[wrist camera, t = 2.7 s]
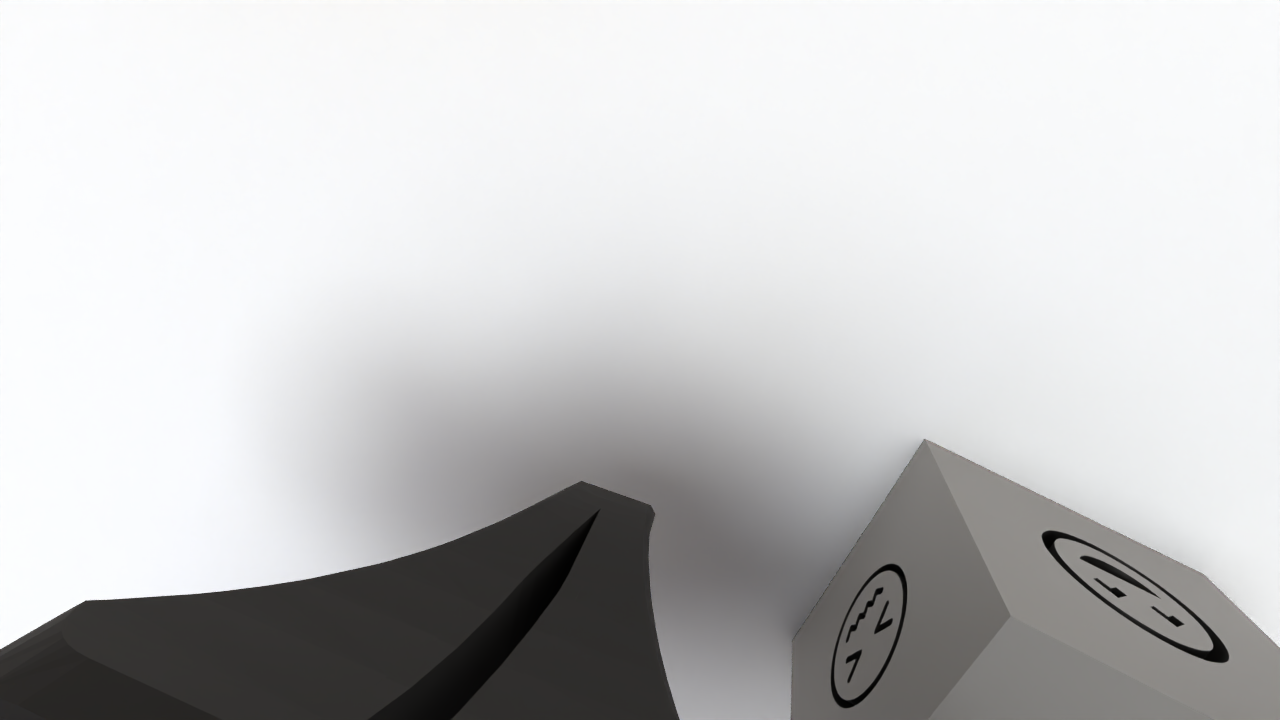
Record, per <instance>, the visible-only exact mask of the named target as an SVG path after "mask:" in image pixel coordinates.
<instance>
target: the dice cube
mask: <svg viewBox="0 0 1280 720" xmlns="http://www.w3.org/2000/svg"><path fill="white" fill-rule="evenodd" d="M791 720H1280V648H1279V647H1278V646H1277V645H1276V644H1275V643H1274V642H1273V641H1272V640H1271V639H1270V638H1269V637H1268V636H1267V635H1266V634H1265V633H1264V632H1263V631H1262V630H1261V629H1260V628H1259V627H1258V626H1256V625H1255V624H1254V623H1253V622H1252V621H1251V620H1250V619H1249V618H1248V617H1247V616H1246V615H1245V614H1244V613H1243V612H1242V611H1241V610H1240V609H1239V608H1238V607H1237V606H1236V605H1235V604H1234V603H1233V602H1232V601H1231V600H1230V599H1229V598H1228V597H1227V596H1225V595H1224V594H1223V593H1222V592H1221V591H1220V590H1219V589H1218V588H1217V587H1216V586H1215V585H1214V584H1213V583H1212V582H1211V581H1210V580H1209V579H1208V578H1207V577H1206V576H1205V575H1204V574H1202V573H1200V572H1198V571H1196V570H1194V569H1192V568H1190V567H1187V566H1185V565H1183V564H1181V563H1179V562H1177V561H1175V560H1173V559H1171V558H1169V557H1167V556H1165V555H1163V554H1161V553H1159V552H1157V551H1155V550H1153V549H1150V548H1148V547H1146V546H1144V545H1142V544H1140V543H1138V542H1136V541H1134V540H1132V539H1130V538H1128V537H1126V536H1124V535H1122V534H1120V533H1118V532H1115V531H1113V530H1111V529H1109V528H1107V527H1105V526H1103V525H1101V524H1099V523H1097V522H1095V521H1093V520H1091V519H1089V518H1087V517H1085V516H1083V515H1081V514H1078V513H1076V512H1074V511H1072V510H1070V509H1068V508H1066V507H1064V506H1062V505H1060V504H1058V503H1056V502H1054V501H1052V500H1050V499H1048V498H1046V497H1044V496H1041V495H1039V494H1037V493H1035V492H1033V491H1031V490H1029V489H1027V488H1025V487H1023V486H1021V485H1019V484H1017V483H1015V482H1013V481H1011V480H1009V479H1007V478H1004V477H1002V476H1000V475H998V474H996V473H994V472H992V471H990V470H988V469H986V468H984V467H982V466H980V465H978V464H976V463H974V462H972V461H970V460H967V459H965V458H963V457H961V456H959V455H957V454H955V453H953V452H951V451H949V450H947V449H945V448H943V447H941V446H939V445H937V444H935V443H933V442H930V441H928V440H926V439H924V441H923V442H922V444H921V445H920V447H919V448H918V450H917V451H916V453H915V454H914V456H913V458H912V459H911V461H910V462H909V464H908V465H907V467H906V468H905V470H904V471H903V473H902V474H901V476H900V477H899V479H898V480H897V482H896V483H895V485H894V487H893V488H892V490H891V491H890V493H889V494H888V496H887V497H886V499H885V500H884V502H883V503H882V505H881V506H880V508H879V509H878V511H877V512H876V514H875V515H874V517H873V519H872V520H871V522H870V523H869V525H868V526H867V528H866V529H865V531H864V532H863V534H862V535H861V537H860V538H859V540H858V541H857V543H856V544H855V546H854V548H853V549H852V551H851V552H850V554H849V555H848V557H847V558H846V560H845V561H844V563H843V564H842V566H841V567H840V569H839V570H838V572H837V573H836V575H835V577H834V578H833V580H832V581H831V583H830V584H829V586H828V587H827V589H826V590H825V592H824V593H823V595H822V596H821V598H820V599H819V601H818V602H817V604H816V606H815V607H814V609H813V610H812V612H811V613H810V615H809V616H808V618H807V619H806V621H805V622H804V624H803V625H802V627H801V628H800V630H799V631H798V633H797V634H796V636H795V638H794V639H793V641H792V685H791Z"/></svg>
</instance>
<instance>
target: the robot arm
mask: <svg viewBox="0 0 1280 720" xmlns="http://www.w3.org/2000/svg"><path fill="white" fill-rule="evenodd" d="M654 517H655V513H654V511H653V509H652V507H651V505H648V504H645V503H642V502H640V501H637V500H634V499H631V498H628V497H625V496H623V495H620V494H617V493H614V492H611V491H608V490H605V489H603V488H600V487H597V486H594V485H591V484H588V483H586V482H583V481H581V482H579V483H577V484H574V485H572V486H570V487H568V488H566V489H564V490H562V491H560V492H558V493H556V494H554V495H552V496H550V497H549V498H547V499H545V500H543V501H541V502H539V503H537V504H535V505H533V506H531V507H529V508H527V509H525V510H523V511H521V512H518V513H516V514H514V515H512V516H510V517H508V518H506V519H504V520H502V521H499V522H497V523H495V524H493V525H490V526H488V527H485V528H483V529H481V530H478V531H476V532H473V533H471V534H468V535H466V536H463V537H461V538H459V539H456V540H454V541H451V542H448V543H445V544H443V545H440V546H437V547H434V548H431V549H428V550H425V551H422V552H418V553H415V554H411V555H408V556H405V557H401V558H398V559H395V560H391V561H387V562H384V563H380V564H376V565H371V566H367V567H362V568H358V569H353V570H348V571H344V572H339V573H335V574H330V575H325V576H321V577H316V578H312V579H306V580H300V581H294V582H288V583H281V584H275V585H269V586H262V587H254V588H246V589H238V590H230V591H221V592H212V593H202V594H190V595H175V596H160V597H144V598H129V599H114V600H89V601H84V602H83V603H81V604H79V605H77V606H75V607H73V608H72V609H70V610H68V611H66V612H64V613H63V614H61V615H59V616H58V617H56V618H54V619H52V620H51V621H49V622H47V623H45V624H44V625H42V626H40V627H38V628H37V629H35V630H33V631H31V632H30V633H28V634H26V635H25V636H23V637H21V638H19V639H18V640H16V641H14V642H12V643H11V644H9V645H7V646H5V647H4V648H2V649H0V720H680V719H679V716H678V714H677V711H676V707H675V704H674V701H673V697H672V694H671V691H670V687H669V684H668V681H667V677H666V673H665V669H664V665H663V661H662V657H661V653H660V648H659V644H658V639H657V633H656V628H655V622H654V615H653V609H652V601H651V592H650V579H649V560H648V551H649V535H650V530H651V527H652V523H653V520H654Z"/></svg>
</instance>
